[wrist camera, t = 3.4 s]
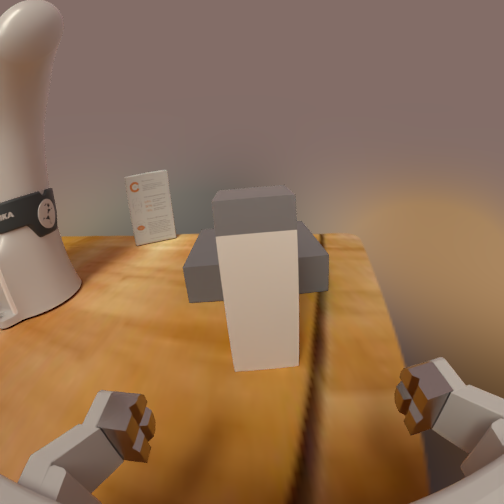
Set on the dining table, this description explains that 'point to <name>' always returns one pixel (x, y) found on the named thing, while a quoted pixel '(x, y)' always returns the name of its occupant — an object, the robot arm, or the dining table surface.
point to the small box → (150, 207)
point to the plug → (259, 274)
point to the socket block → (208, 272)
